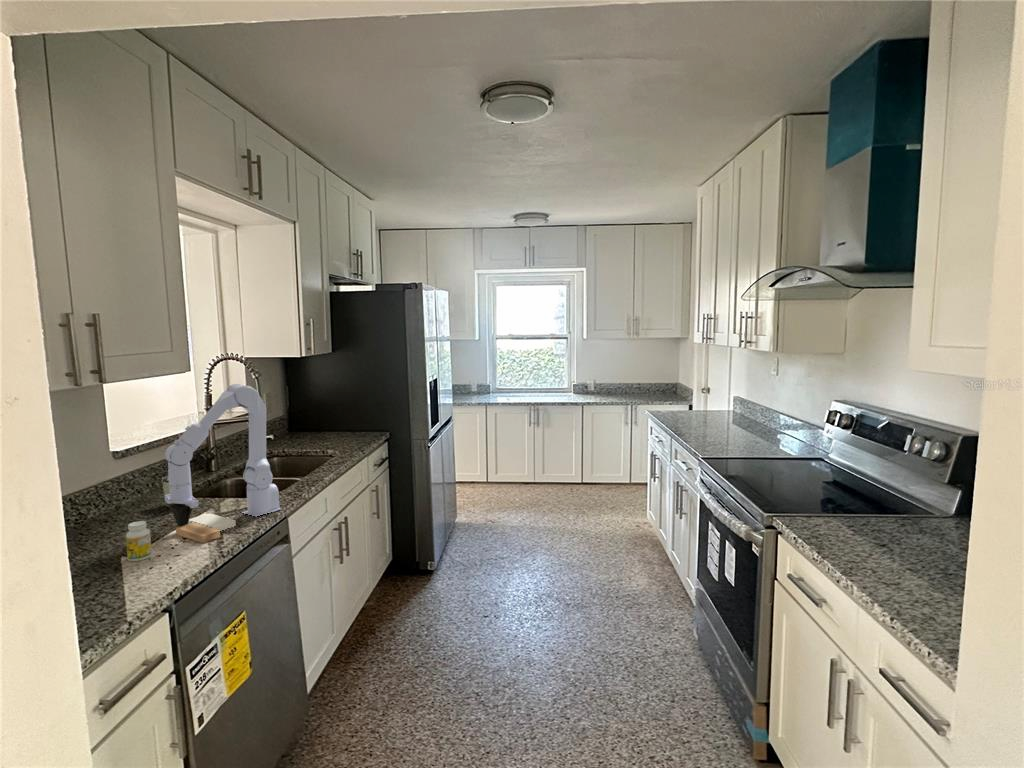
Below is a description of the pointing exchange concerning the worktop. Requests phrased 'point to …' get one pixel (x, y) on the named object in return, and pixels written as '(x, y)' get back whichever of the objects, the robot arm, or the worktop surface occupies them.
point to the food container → (166, 488)
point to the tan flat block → (198, 532)
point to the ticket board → (213, 521)
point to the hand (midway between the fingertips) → (183, 526)
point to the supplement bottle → (138, 541)
